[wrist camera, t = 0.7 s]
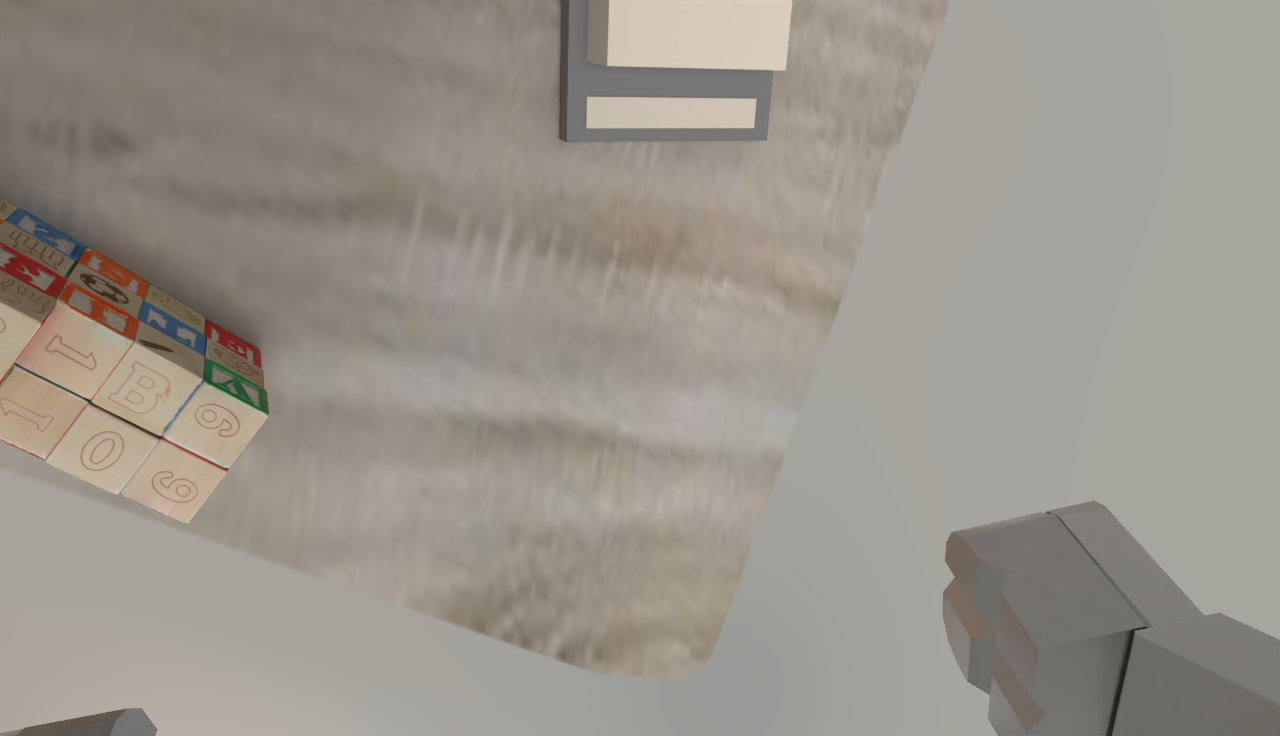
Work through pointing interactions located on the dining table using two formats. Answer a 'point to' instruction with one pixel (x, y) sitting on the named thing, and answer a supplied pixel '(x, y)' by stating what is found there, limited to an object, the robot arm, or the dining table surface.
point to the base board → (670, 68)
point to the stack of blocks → (117, 374)
